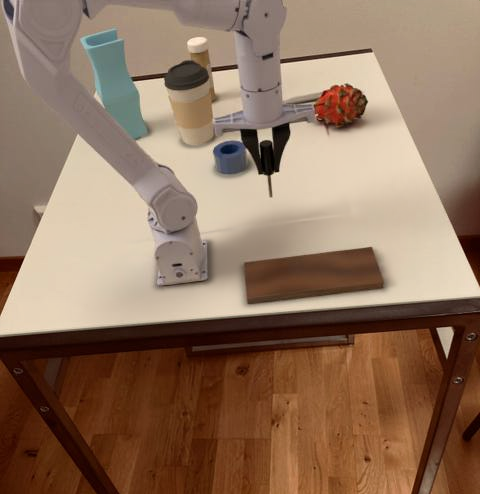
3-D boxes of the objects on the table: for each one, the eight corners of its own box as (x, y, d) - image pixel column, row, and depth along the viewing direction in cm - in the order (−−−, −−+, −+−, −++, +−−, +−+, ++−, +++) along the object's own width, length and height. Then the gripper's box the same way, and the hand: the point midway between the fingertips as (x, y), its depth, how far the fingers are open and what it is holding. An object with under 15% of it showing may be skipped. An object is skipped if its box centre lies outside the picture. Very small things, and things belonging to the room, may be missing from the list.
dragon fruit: (371, 129, 107) (314, 141, 110) (367, 91, 108) (310, 104, 111) (370, 110, 99) (308, 123, 102) (365, 69, 100) (304, 83, 103)
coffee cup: (213, 149, 107) (200, 76, 95) (172, 149, 109) (155, 78, 97) (222, 127, 112) (211, 56, 101) (184, 127, 114) (169, 58, 103)
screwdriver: (275, 189, 84) (271, 138, 77) (277, 196, 82) (273, 145, 76) (263, 190, 84) (258, 140, 77) (265, 198, 82) (259, 147, 76)
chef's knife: (272, 102, 118) (274, 107, 115) (272, 97, 117) (274, 102, 115) (354, 88, 117) (358, 93, 115) (355, 83, 116) (358, 88, 114)
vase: (150, 134, 114) (124, 39, 99) (116, 145, 113) (85, 50, 98) (141, 120, 119) (116, 28, 105) (109, 130, 118) (78, 38, 103)
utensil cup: (249, 173, 99) (247, 155, 96) (216, 178, 99) (212, 160, 96) (247, 156, 103) (245, 138, 100) (215, 160, 103) (212, 142, 100)
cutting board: (383, 287, 74) (384, 282, 73) (247, 303, 75) (246, 298, 74) (371, 252, 80) (371, 246, 79) (244, 267, 81) (243, 262, 80)
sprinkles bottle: (194, 103, 122) (183, 44, 112) (202, 95, 124) (191, 36, 115) (212, 104, 120) (202, 44, 110) (219, 95, 123) (210, 36, 113)
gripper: (309, 63, 72) (310, 150, 82) (208, 78, 73) (222, 162, 83) (316, 84, 67) (317, 174, 77) (208, 100, 68) (223, 187, 78)
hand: (268, 170), depth 80 cm, fingers closed on screwdriver, 2 cm apart
